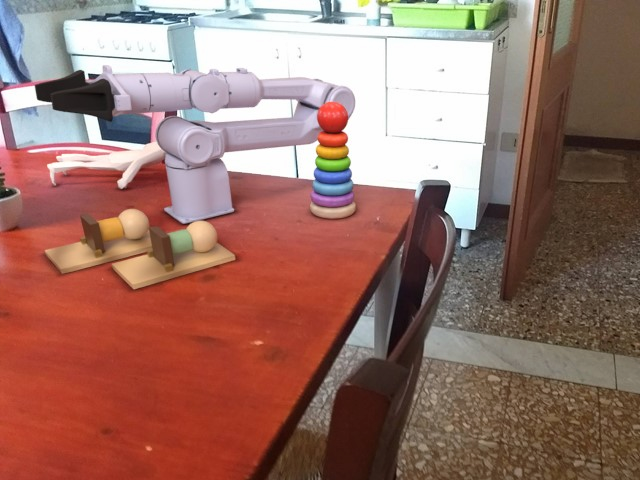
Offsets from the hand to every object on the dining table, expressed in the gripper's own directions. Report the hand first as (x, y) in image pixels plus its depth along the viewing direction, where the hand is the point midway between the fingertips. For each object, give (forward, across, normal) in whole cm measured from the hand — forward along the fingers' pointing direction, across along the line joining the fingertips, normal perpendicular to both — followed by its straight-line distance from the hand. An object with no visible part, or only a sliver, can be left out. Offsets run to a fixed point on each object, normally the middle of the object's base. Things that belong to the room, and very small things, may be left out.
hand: (43, 97), depth 87 cm
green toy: (-12, +17, +20) cm, 29 cm away
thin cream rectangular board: (-10, +17, +21) cm, 29 cm away
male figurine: (-18, -25, +20) cm, 37 cm away
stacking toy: (-40, +14, +19) cm, 46 cm away
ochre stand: (-4, +6, +21) cm, 23 cm away
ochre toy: (-6, +6, +20) cm, 22 cm away
